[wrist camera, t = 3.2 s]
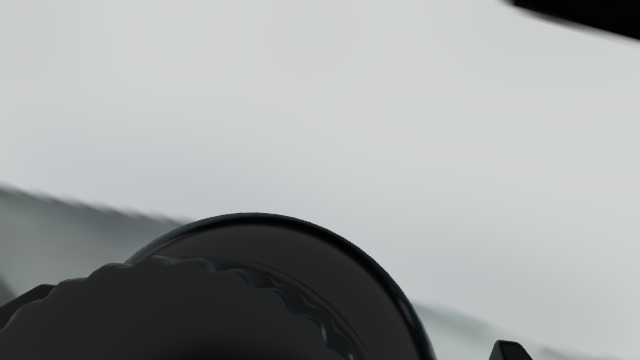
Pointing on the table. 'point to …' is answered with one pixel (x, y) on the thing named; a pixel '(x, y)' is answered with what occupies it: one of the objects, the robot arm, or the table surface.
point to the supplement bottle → (226, 301)
